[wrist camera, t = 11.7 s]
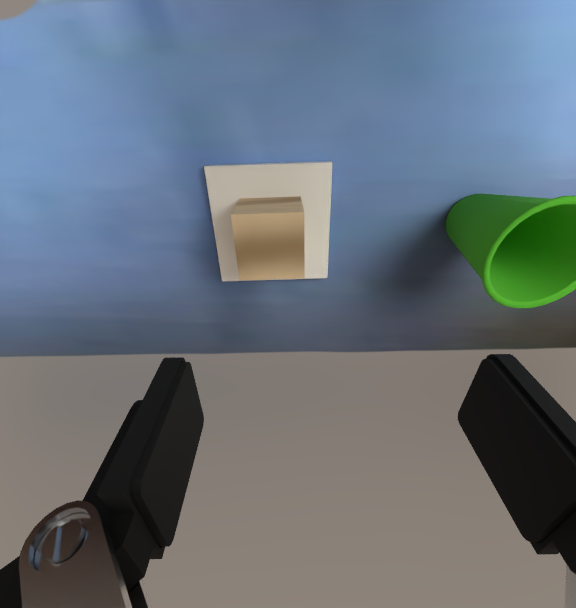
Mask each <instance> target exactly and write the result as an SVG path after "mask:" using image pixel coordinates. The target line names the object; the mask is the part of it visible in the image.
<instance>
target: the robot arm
mask: <svg viewBox="0 0 576 608" xmlns="http://www.w3.org/2000/svg"><path fill="white" fill-rule="evenodd" d="M458 421H459V423H460V426H461V427H462V429H463V431H464V433H465V435H466V436H467V438H468V440H469V442H470V443H471V445H472V447H473V449H474V451H475V452H476V454H477V456H478V458H479V459H480V461H481V463H482V465H483V467H484V468H485V470H486V472H487V474H488V476H489V477H490V479H491V481H492V483H493V485H494V486H495V488H496V490H497V492H498V494H499V495H500V497H501V499H502V501H503V503H504V504H505V506H506V508H507V510H508V511H509V513H510V515H511V517H512V519H513V520H514V522H515V524H516V526H517V528H518V529H519V531H520V533H521V534H522V536H523V537H524V538H525V539H526V540H528V541H529V542H531V544H532V546H533V548H534V550H535V551H536V553H537V554H558V553H559V552H560V554H561V555H562V557H563V559H564V560H565V562H566V564H567V567H566V590H565V608H576V422H575V421H574V420H573V419H572V418H571V417H570V416H569V415H568V413H567V412H566V411H565V410H564V409H563V408H562V407H561V406H560V405H559V404H558V403H557V402H556V401H555V400H554V398H552V396H551V395H550V394H549V393H548V392H547V391H546V390H545V389H544V388H543V387H542V386H541V385H540V384H539V382H537V380H536V379H535V378H534V377H533V376H532V375H531V374H530V373H529V372H528V371H527V370H526V369H525V367H524V366H523V365H521V363H520V362H519V361H518V360H517V359H516V358H515V357H514V356H513V355H510V354H491V355H489V356H487V358H486V359H484V360H483V361H482V362H481V364H480V366H479V368H478V371H477V373H476V375H475V377H474V379H473V381H472V384H471V386H470V388H469V390H468V392H467V395H466V397H465V399H464V401H463V403H462V405H461V408H460V410H459V412H458ZM203 422H204V417H203V412H202V408H201V404H200V400H199V395H198V391H197V387H196V383H195V379H194V375H193V371H192V367H191V364H190V362H185V359H184V358H164V359H163V361H162V362H161V364H160V367H159V368H158V370H157V372H156V374H155V376H154V378H153V380H152V382H151V384H150V386H149V388H148V390H147V393H146V395H145V397H144V399H143V400H138V401H136V402H135V403H134V404H133V406H132V407H131V409H130V411H129V413H128V415H127V417H126V419H125V420H124V422H123V424H122V426H121V428H120V430H119V432H118V434H117V436H116V438H115V440H114V441H113V443H112V445H111V447H110V449H109V451H108V453H107V455H106V457H105V459H104V461H103V463H102V464H101V466H100V468H99V470H98V472H97V474H96V476H95V478H94V480H93V482H92V484H91V486H90V488H89V489H88V491H87V493H86V495H85V497H84V499H83V501H74V502H70V503H66V504H64V505H62V506H60V507H58V508H56V509H55V510H53V511H52V512H51V513H49V514H48V515H47V516H45V517H44V518H43V519H42V520H41V521H40V522H39V523H38V524H37V525H36V526H35V527H34V529H33V530H32V531H31V533H30V534H29V536H28V537H27V539H26V540H25V543H24V545H23V547H22V550H21V553H20V556H19V557H17V558H16V559H15V560H13V561H12V562H11V563H9V564H8V565H6V566H5V567H4V568H2V569H1V570H0V608H152V607H151V604H150V601H149V598H148V595H147V592H146V589H145V586H144V584H143V581H142V578H143V577H144V576H145V573H146V570H147V567H148V563H149V560H150V559H162V557H163V553H164V549H165V546H170V545H171V543H172V541H173V539H174V535H175V531H176V528H177V524H178V520H179V515H180V512H181V508H182V504H183V501H184V497H185V493H186V489H187V486H188V482H189V478H190V474H191V470H192V466H193V462H194V459H195V455H196V451H197V447H198V443H199V440H200V436H201V432H202V428H203Z"/></svg>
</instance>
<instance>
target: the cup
mask: <svg viewBox="0 0 576 608" xmlns="http://www.w3.org/2000/svg"><path fill="white" fill-rule="evenodd" d="M446 232H447V234H448V237H449V238H450V239H451V240H452V242H453V243H454V244H455V246H456V247H457V248H458V249H459V251H460V252H461V253H462V255H463V256H464V257H465V258H466V260H467V261H468V262H469V264H470V265H471V266H472V267H473V269H474V270H475V271H476V272H477V274H478V275H479V276H480V278H481V279H482V282H483V285H484V288H485V290H486V293H487V294H488V295H489V296H490V297H491V298H492V299H493V300H494V301H496V302H498V303H500V304H501V305H504V306H508V307H513V308H532V307H537V306H542V305H545V304H548V303H550V302H553V301H556V300H558V299H560V298H562V297H563V296H565V295H567V294H569V293H570V292H572V291H573V290H575V289H576V196H562V197H558V198H554V199H548V198H534V197H520V196H506V195H492V194H474V195H470V196H468V197H466V198H463V199H461V200H460V201H459V202H457V203H456V204H455V205H454V206H453V207H452V209H451V210H450V212H449V213H448V216H447V219H446Z"/></svg>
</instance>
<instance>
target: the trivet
mask: <svg viewBox="0 0 576 608" xmlns="http://www.w3.org/2000/svg"><path fill="white" fill-rule="evenodd" d="M204 169H205V176H206V182H207V189H208V195H209V201H210V208H211V214H212V220H213V227H214V233H215V239H216V246H217V252H218V258H219V265H220V271H221V278H222V281H239V275H238V267H237V259H236V251H235V243H234V236H233V228H232V220H231V213H232V212H233V210H234V208H235V206H236V204H237V202H238V201H239V199H241V198H269V197H296V196H301V200H302V204H303V208H304V253H305V278H296V279H312V278H327V274H328V251H329V229H330V206H331V183H332V162H331V161H322V162H291V163H260V164H229V165H206V166H204ZM268 280H281V279H268ZM240 281H250V280H240Z"/></svg>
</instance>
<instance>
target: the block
mask: <svg viewBox="0 0 576 608" xmlns="http://www.w3.org/2000/svg"><path fill="white" fill-rule="evenodd" d="M231 220H232V228H233V236H234V243H235V251H236V259H237V267H238V275H239V281H240V280H268V279H296V278H305V253H304V208H303V204H302V200H301V196H296V197H269V198H241V199H239V201H238V202H237V204H236V206H235V208H234V210H233V212H232V213H231Z"/></svg>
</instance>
